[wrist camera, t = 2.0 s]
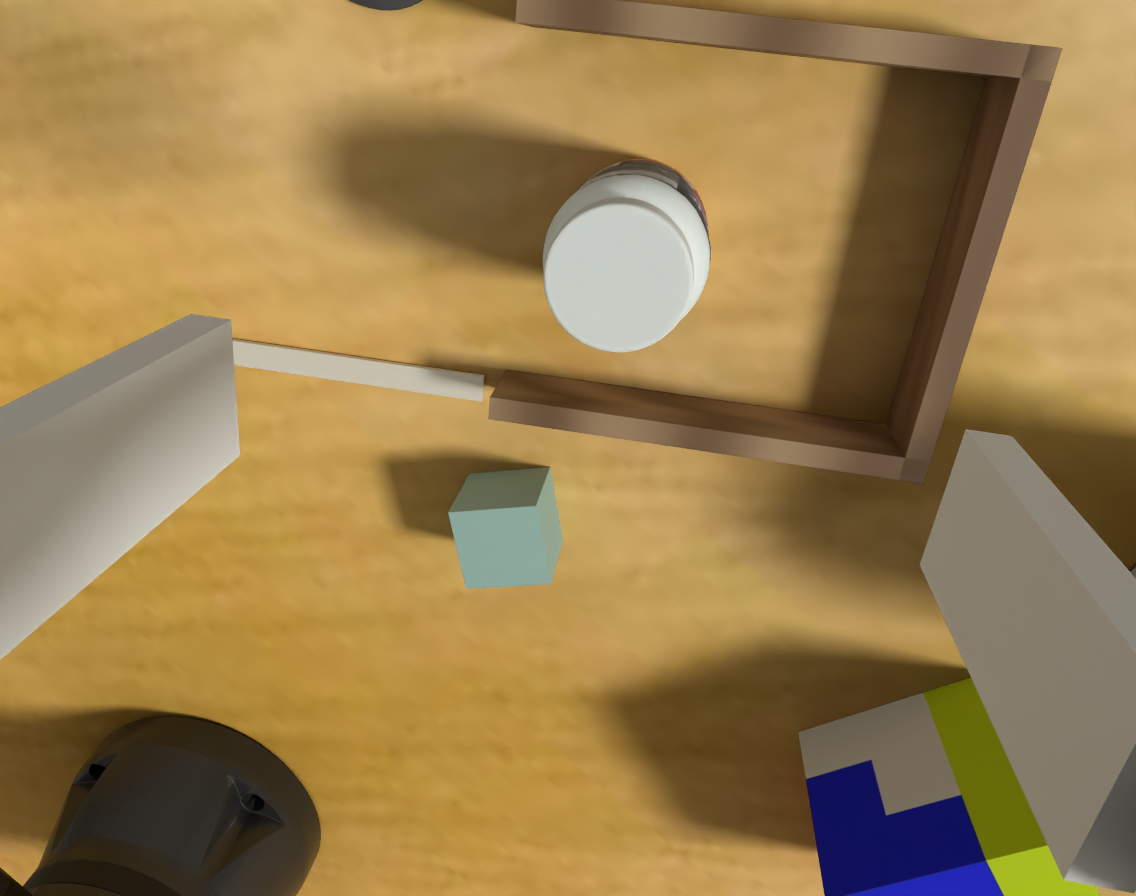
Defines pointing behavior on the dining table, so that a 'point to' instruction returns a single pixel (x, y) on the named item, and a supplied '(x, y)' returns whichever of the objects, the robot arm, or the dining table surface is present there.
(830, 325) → the dining table surface
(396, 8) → the drain disc
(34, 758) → the dining table surface
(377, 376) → the strip
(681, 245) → the pill bottle
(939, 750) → the puzzle toy
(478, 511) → the teal block
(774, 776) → the dining table surface
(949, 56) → the cubby
